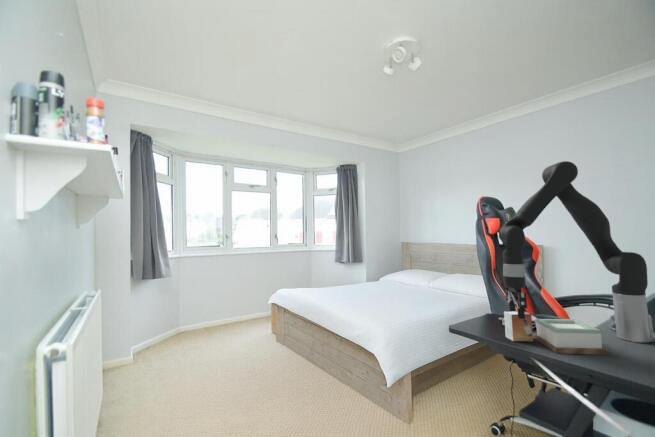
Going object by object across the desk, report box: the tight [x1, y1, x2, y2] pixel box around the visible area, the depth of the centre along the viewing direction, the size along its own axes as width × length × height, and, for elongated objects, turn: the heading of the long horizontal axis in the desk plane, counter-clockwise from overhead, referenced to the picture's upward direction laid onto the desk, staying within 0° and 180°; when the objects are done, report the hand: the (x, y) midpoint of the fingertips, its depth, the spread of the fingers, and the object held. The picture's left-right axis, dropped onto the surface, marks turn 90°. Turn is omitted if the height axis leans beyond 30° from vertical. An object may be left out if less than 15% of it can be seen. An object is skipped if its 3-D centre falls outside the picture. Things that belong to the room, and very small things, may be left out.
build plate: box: [533, 333, 610, 356], centre depth 112 cm, size 16×17×2 cm
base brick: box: [536, 318, 603, 348], centre depth 112 cm, size 14×14×6 cm
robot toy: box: [498, 314, 538, 329], centre depth 137 cm, size 12×4×15 cm
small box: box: [503, 310, 534, 342], centre depth 121 cm, size 8×6×10 cm
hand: (516, 315), depth 121 cm, fingers open, 8 cm apart
